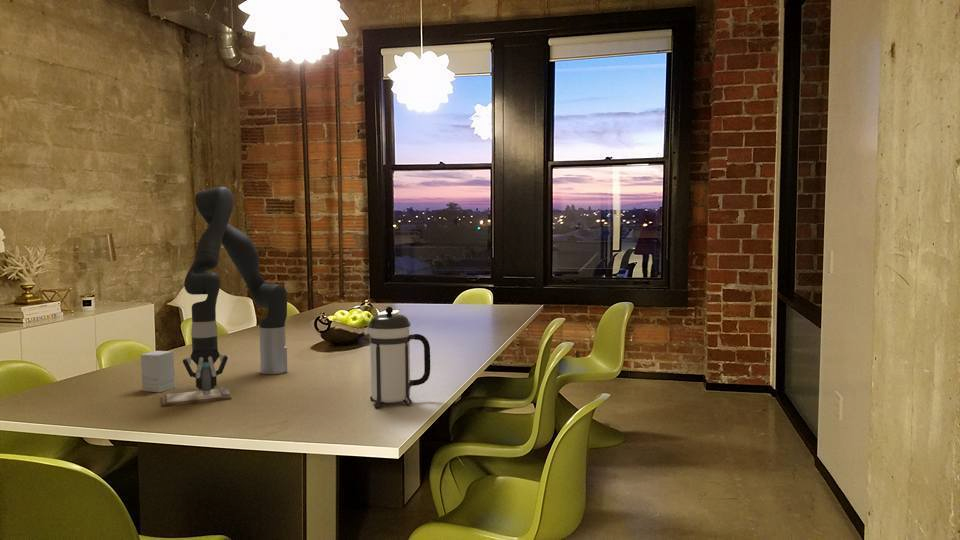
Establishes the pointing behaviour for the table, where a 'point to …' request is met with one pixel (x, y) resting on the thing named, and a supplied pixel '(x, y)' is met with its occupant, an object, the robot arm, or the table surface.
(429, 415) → the table surface
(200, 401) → the writing board
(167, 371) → the supplement box
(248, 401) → the table surface
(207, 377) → the marker
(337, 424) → the table surface
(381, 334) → the coffee press
